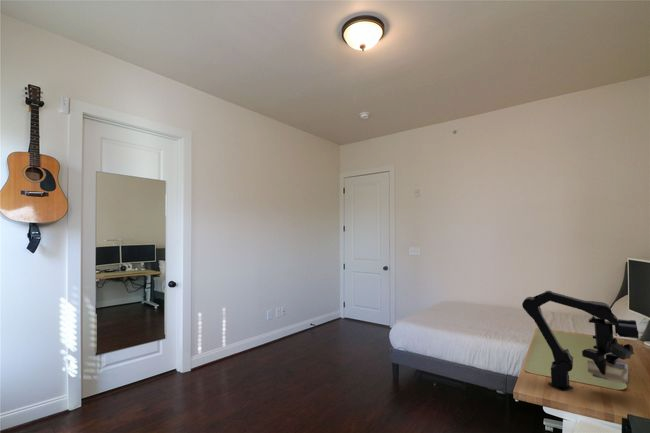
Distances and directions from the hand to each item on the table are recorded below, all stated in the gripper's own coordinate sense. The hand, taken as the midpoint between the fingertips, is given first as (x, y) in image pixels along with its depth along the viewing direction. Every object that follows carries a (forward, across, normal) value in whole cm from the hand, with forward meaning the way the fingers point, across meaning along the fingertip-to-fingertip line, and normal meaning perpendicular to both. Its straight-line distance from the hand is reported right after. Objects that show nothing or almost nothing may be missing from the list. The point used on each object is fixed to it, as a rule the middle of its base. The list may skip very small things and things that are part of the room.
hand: (606, 373), depth 135 cm
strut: (+1, 0, 0) cm, 1 cm away
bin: (+9, +23, +14) cm, 29 cm away
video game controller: (+10, +40, +22) cm, 47 cm away
